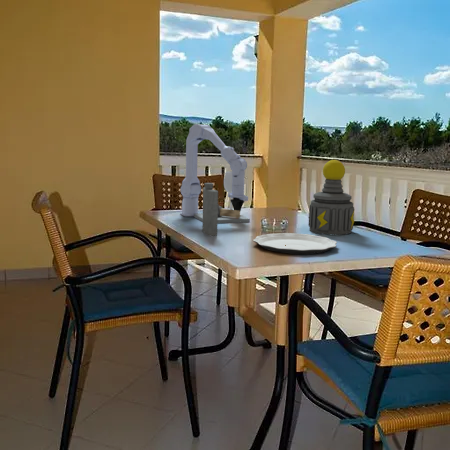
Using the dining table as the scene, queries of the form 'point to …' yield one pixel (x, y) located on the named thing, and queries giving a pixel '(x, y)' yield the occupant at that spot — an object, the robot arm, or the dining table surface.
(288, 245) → the plate
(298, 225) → the dining table surface
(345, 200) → the decorative lamp
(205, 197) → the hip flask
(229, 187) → the wineglass
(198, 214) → the grey flat slab
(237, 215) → the curved bar with hub
